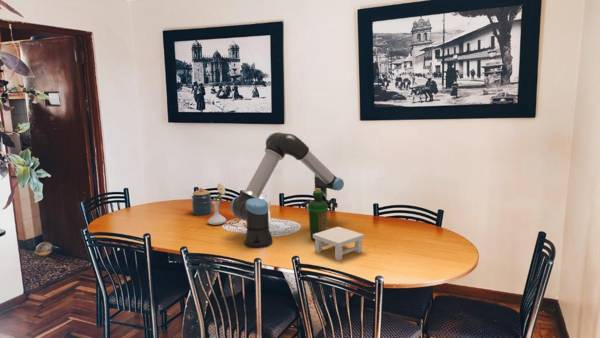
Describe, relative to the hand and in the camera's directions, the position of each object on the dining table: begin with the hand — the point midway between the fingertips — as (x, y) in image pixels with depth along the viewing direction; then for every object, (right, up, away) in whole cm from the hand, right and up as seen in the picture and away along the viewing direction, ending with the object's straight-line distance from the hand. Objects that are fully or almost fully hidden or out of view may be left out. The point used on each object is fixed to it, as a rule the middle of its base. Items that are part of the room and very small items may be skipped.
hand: (319, 208), depth 236 cm
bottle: (-1, -16, -5) cm, 17 cm away
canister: (-77, -8, +52) cm, 93 cm away
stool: (+8, -19, -24) cm, 32 cm away
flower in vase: (-62, -12, +28) cm, 69 cm away
